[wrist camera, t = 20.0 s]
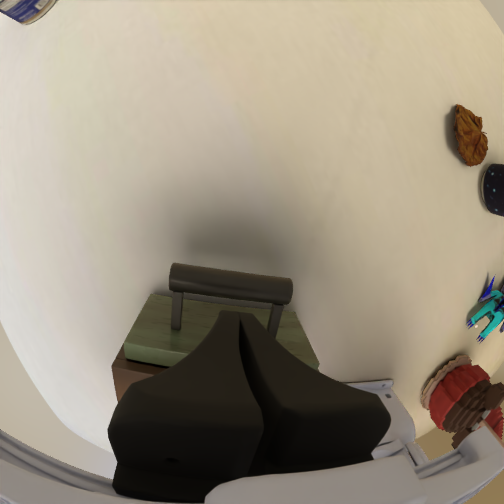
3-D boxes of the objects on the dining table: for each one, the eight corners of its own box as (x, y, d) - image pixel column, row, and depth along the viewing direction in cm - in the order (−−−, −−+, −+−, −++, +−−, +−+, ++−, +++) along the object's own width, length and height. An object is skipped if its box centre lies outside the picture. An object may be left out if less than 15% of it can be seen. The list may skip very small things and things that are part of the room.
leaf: (480, 173, 21) (491, 173, 19) (447, 159, 19) (460, 158, 18) (475, 118, 20) (486, 116, 18) (441, 96, 18) (453, 93, 17)
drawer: (153, 240, 19) (121, 272, 13) (307, 262, 21) (341, 301, 14) (153, 402, 23) (140, 454, 17) (264, 414, 25) (274, 466, 18)
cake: (442, 350, 27) (527, 437, 9) (477, 347, 28) (549, 414, 11) (406, 411, 29) (463, 499, 12) (444, 402, 31) (499, 472, 13)
